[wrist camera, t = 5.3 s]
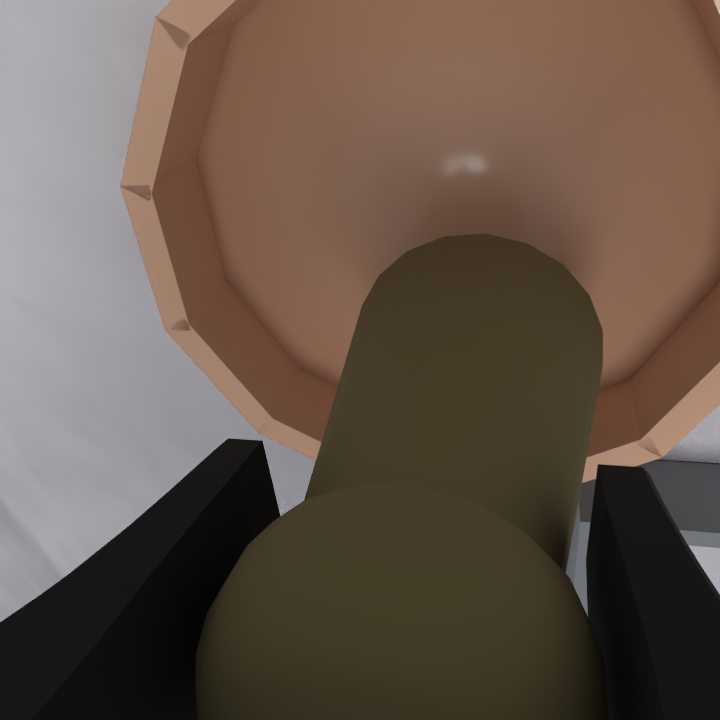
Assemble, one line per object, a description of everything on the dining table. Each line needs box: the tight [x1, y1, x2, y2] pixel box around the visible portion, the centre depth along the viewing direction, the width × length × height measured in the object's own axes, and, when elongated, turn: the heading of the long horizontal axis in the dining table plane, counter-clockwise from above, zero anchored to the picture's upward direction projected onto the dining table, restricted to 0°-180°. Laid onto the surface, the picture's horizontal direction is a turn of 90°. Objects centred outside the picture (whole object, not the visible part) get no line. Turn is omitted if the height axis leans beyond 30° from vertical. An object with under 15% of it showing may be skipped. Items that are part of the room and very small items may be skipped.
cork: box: [195, 233, 608, 720], centre depth 12 cm, size 6×6×11 cm
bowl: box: [120, 0, 720, 483], centre depth 17 cm, size 16×16×4 cm
